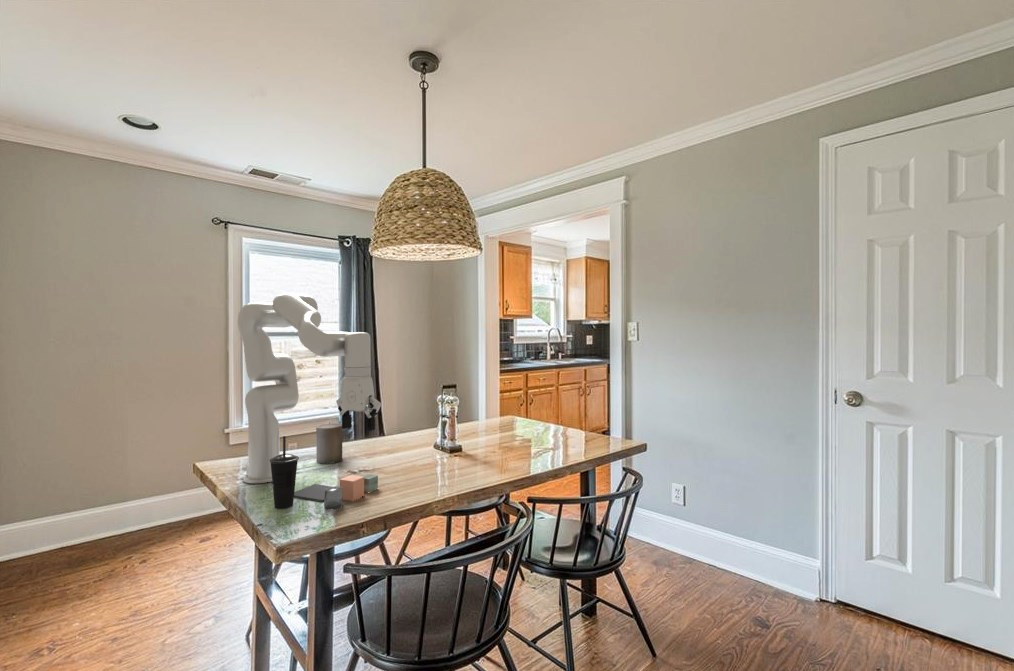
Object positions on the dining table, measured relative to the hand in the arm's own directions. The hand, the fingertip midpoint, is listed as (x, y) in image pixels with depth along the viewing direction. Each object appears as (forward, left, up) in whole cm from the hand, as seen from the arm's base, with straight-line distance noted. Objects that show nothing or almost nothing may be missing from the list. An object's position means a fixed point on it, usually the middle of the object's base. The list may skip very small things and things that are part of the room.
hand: (358, 429), depth 147 cm
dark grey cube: (-2, -9, -21) cm, 23 cm away
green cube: (-2, +7, -21) cm, 22 cm away
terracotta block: (-2, -1, -21) cm, 21 cm away
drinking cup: (-15, -14, -21) cm, 29 cm away
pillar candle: (-38, +30, -21) cm, 53 cm away
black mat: (-14, -2, -21) cm, 25 cm away
